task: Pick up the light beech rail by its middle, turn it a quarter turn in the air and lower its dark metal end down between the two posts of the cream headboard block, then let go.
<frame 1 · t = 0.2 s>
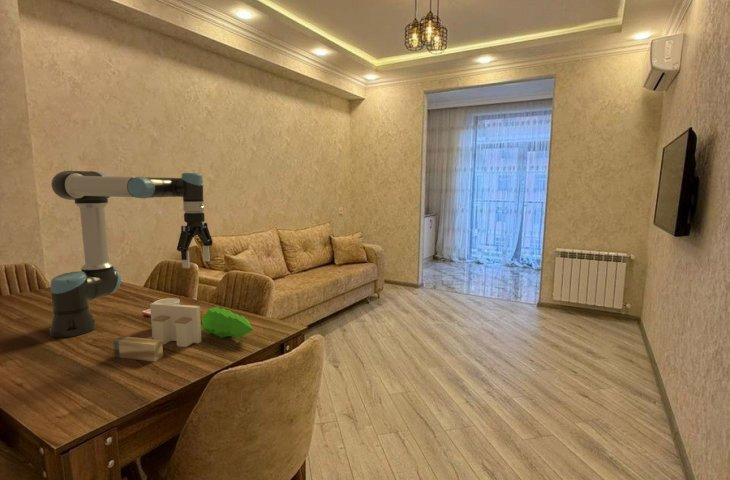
hand: (196, 264, 161), 28 cm above the table, fingers open, 13 cm apart
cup: (168, 326, 168), on the table
decorative tree: (226, 337, 157), on the table
rail: (139, 356, 139), on the table
headboard: (177, 341, 153), on the table
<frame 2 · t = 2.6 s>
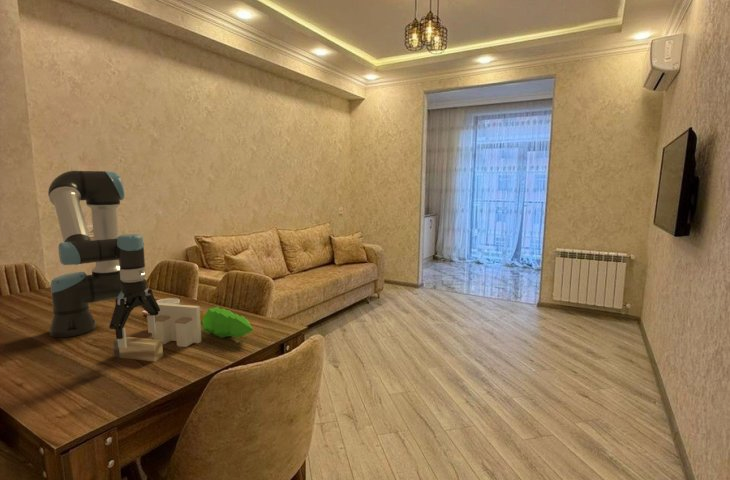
hand: (138, 339, 138), 6 cm above the table, fingers open, 13 cm apart
nothing on the table moved.
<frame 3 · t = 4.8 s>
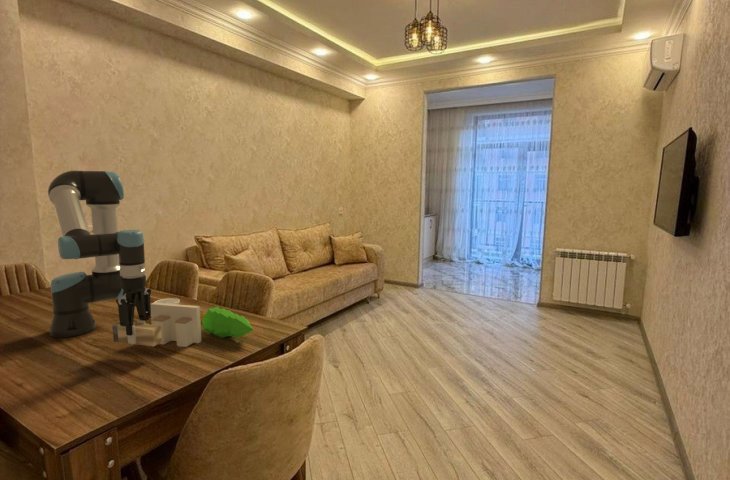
hand: (137, 340, 138), 6 cm above the table, fingers closed on rail, 4 cm apart
rail: (137, 341, 139), point 5 cm above the table, touching gripper
everything else where it was.
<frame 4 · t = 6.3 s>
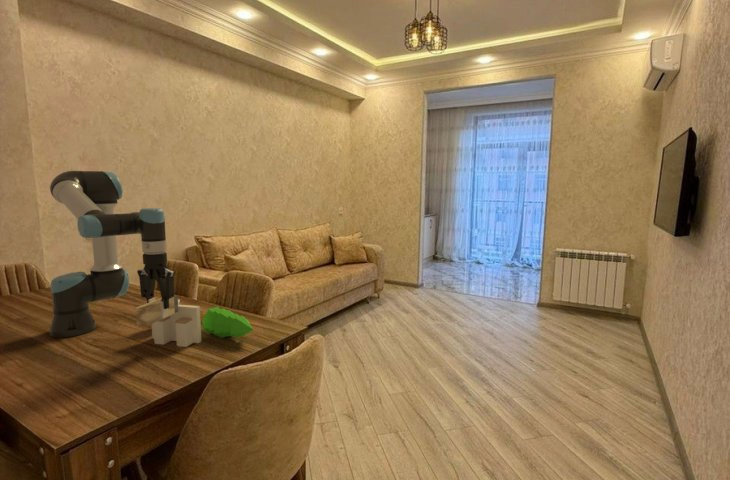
hand: (159, 316, 142), 13 cm above the table, fingers closed on rail, 4 cm apart
rail: (158, 317, 142), point 13 cm above the table, touching gripper
everything else where it was.
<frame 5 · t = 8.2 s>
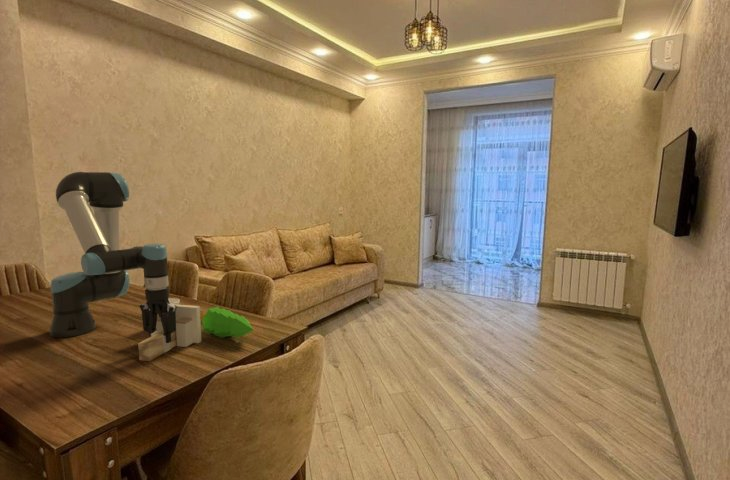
hand: (161, 350, 144), 0 cm above the table, fingers closed on rail, 4 cm apart
rail: (160, 351, 144), on the table, touching gripper
everything else where it was.
when the fingers open (0 cm above the table, at t = 8.3 s): rail stays where it is, on the table.
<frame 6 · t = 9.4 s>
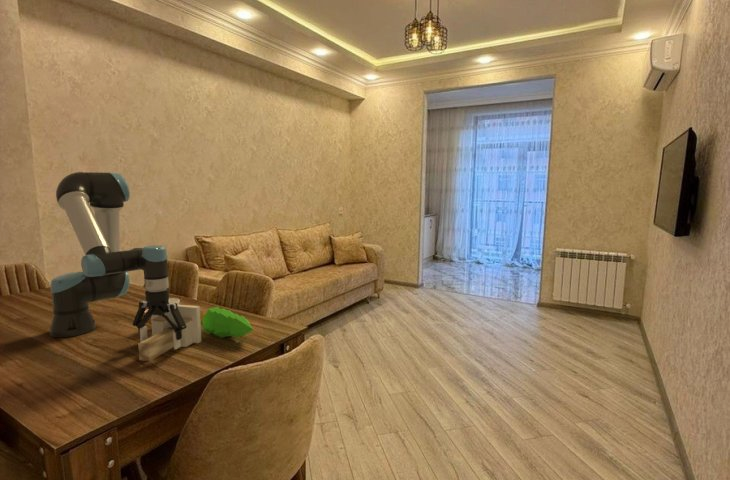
hand: (160, 346, 144), 2 cm above the table, fingers open, 13 cm apart
rail: (160, 351, 144), on the table
everything else where it was.
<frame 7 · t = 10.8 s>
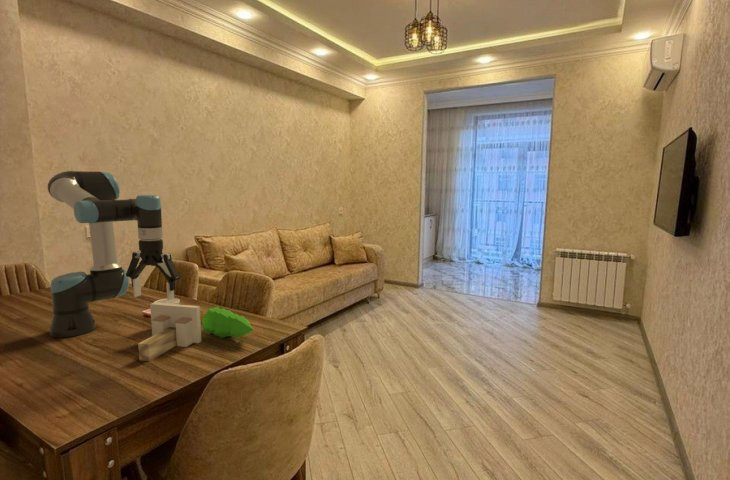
hand: (154, 297, 142), 19 cm above the table, fingers open, 13 cm apart
nothing on the table moved.
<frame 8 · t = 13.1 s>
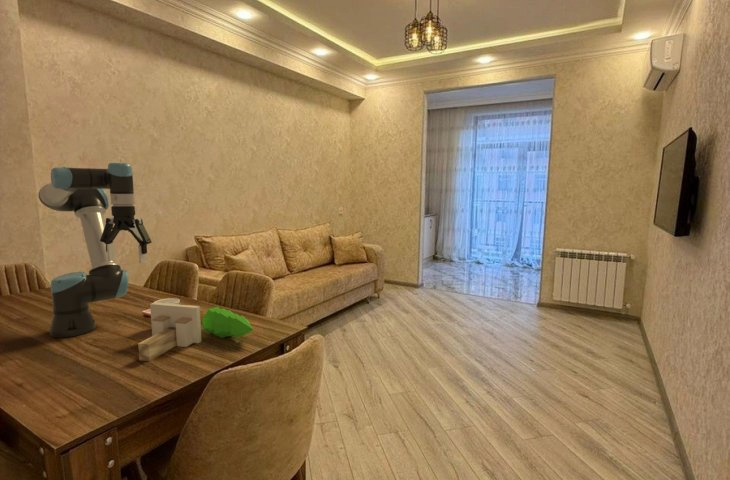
hand: (127, 261, 150), 31 cm above the table, fingers open, 13 cm apart
nothing on the table moved.
at the end: rail 0.2 cm from the target spot, on the table; rail tilted 0°; the gripper is holding nothing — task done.
